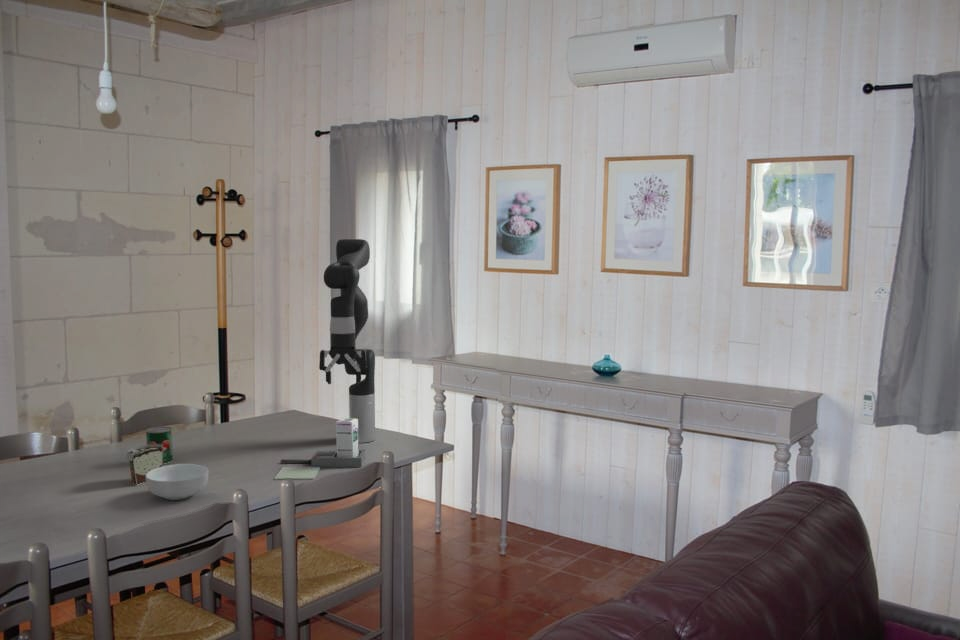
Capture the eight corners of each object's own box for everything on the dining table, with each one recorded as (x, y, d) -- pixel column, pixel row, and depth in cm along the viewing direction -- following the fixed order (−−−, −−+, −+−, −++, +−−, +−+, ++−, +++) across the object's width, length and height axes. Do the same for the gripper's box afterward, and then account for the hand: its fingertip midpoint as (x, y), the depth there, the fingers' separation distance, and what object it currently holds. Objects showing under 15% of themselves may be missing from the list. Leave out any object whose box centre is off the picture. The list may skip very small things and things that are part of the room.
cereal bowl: (135, 504, 228) (134, 479, 227) (161, 486, 244) (160, 463, 244) (195, 505, 227) (194, 480, 226) (217, 487, 244) (217, 464, 243)
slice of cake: (151, 473, 257) (150, 442, 256) (165, 476, 254) (164, 444, 253) (118, 484, 246) (116, 451, 245) (132, 487, 243) (131, 454, 242)
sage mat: (282, 468, 263) (282, 467, 263) (320, 468, 263) (320, 466, 263) (274, 479, 251) (274, 478, 251) (313, 479, 251) (313, 478, 251)
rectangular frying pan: (283, 458, 274) (283, 448, 273) (365, 458, 274) (365, 448, 274) (276, 467, 264) (276, 457, 264) (361, 467, 264) (361, 456, 264)
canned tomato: (166, 457, 276) (165, 425, 275) (177, 462, 270) (175, 429, 269) (143, 461, 270) (141, 429, 269) (153, 466, 265) (151, 433, 263)
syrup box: (353, 465, 266) (352, 421, 264) (336, 464, 267) (335, 421, 266) (359, 461, 271) (358, 418, 270) (342, 460, 273) (341, 417, 271)
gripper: (367, 329, 254) (368, 381, 256) (321, 329, 253) (322, 381, 255) (364, 332, 246) (365, 385, 248) (317, 332, 246) (318, 386, 248)
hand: (343, 383), depth 252 cm, fingers open, 8 cm apart
